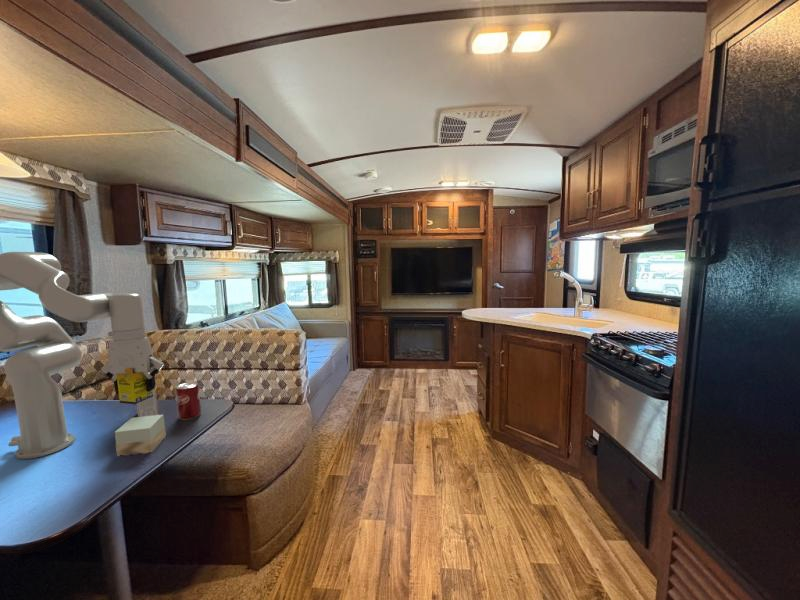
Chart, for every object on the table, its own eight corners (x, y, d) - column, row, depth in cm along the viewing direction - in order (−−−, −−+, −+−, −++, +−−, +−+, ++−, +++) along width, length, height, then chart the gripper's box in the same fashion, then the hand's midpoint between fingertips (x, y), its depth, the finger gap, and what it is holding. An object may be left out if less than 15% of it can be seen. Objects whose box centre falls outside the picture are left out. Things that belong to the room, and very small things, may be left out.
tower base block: (117, 457, 97) (115, 444, 97) (135, 441, 106) (133, 429, 105) (151, 453, 99) (149, 441, 98) (166, 437, 108) (164, 426, 107)
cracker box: (136, 413, 124) (130, 360, 122) (156, 408, 128) (151, 357, 126) (138, 427, 114) (132, 369, 111) (159, 421, 118) (154, 365, 115)
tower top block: (116, 444, 97) (114, 432, 96) (132, 429, 105) (131, 417, 105) (151, 440, 99) (149, 428, 98) (164, 425, 107) (163, 414, 107)
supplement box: (135, 404, 97) (131, 369, 95) (119, 403, 98) (114, 368, 97) (154, 396, 103) (150, 362, 101) (138, 395, 104) (134, 362, 102)
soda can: (184, 422, 117) (181, 390, 115) (174, 417, 121) (171, 386, 119) (205, 414, 123) (202, 384, 121) (195, 410, 127) (192, 380, 125)
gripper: (86, 339, 93) (94, 398, 95) (154, 335, 96) (161, 393, 98) (105, 333, 100) (112, 388, 102) (168, 330, 103) (173, 384, 105)
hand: (136, 390), depth 100 cm, fingers closed on supplement box, 7 cm apart
